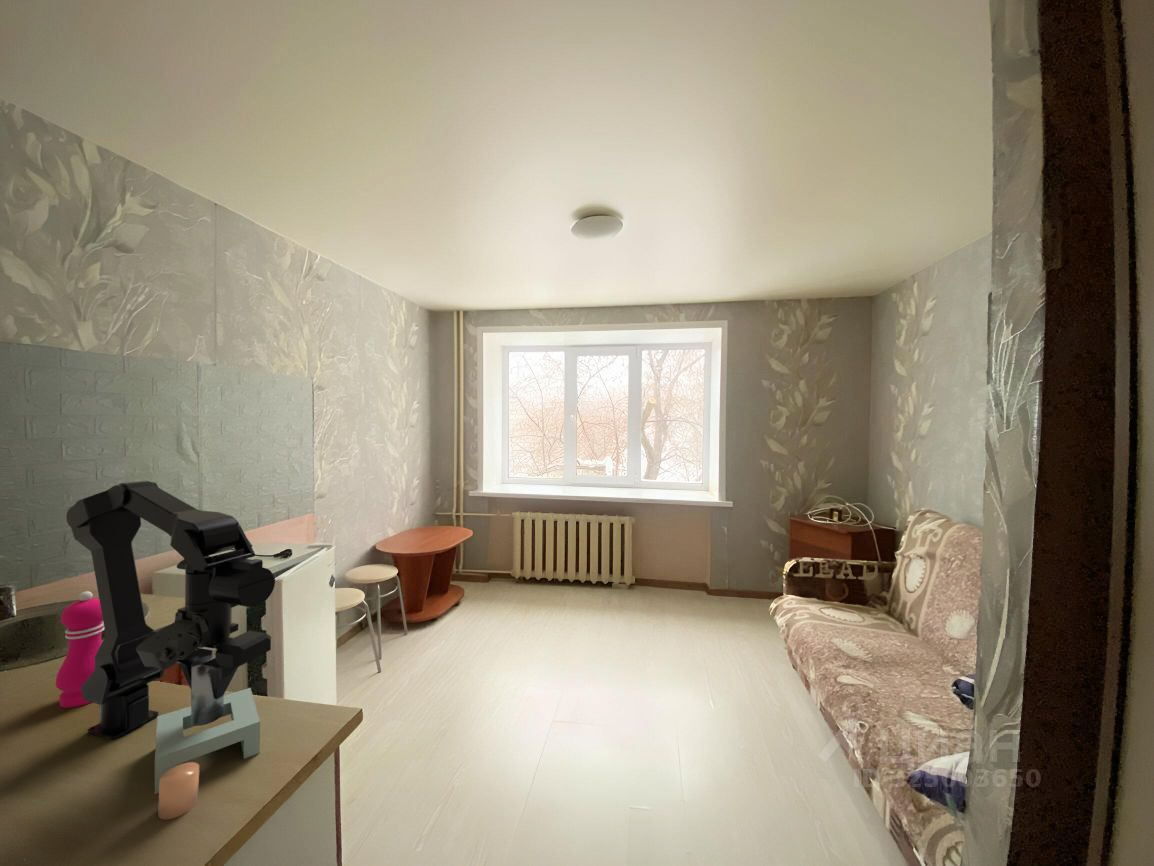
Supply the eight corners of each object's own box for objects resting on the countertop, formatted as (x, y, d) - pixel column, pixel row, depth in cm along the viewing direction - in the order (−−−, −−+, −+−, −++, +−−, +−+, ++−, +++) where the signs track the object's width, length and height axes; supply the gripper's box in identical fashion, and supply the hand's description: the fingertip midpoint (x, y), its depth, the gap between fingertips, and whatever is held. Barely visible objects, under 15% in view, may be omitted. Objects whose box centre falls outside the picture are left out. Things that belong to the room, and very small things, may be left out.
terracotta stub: (149, 817, 58) (150, 783, 58) (178, 792, 62) (180, 760, 62) (178, 821, 58) (179, 787, 58) (205, 795, 62) (207, 763, 62)
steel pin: (184, 723, 69) (184, 665, 68) (211, 707, 72) (211, 652, 72) (204, 727, 68) (204, 669, 68) (230, 711, 72) (230, 656, 71)
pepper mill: (74, 712, 79) (74, 600, 79) (44, 706, 80) (44, 597, 80) (123, 689, 86) (123, 586, 86) (94, 684, 87) (95, 583, 87)
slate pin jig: (157, 747, 71) (157, 716, 70) (250, 715, 79) (250, 687, 79) (154, 794, 62) (154, 758, 62) (259, 752, 70) (260, 721, 70)
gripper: (101, 611, 64) (100, 717, 64) (200, 626, 60) (199, 741, 60) (185, 585, 75) (184, 676, 75) (274, 596, 71) (273, 693, 71)
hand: (208, 695), depth 70 cm, fingers closed on steel pin, 4 cm apart
